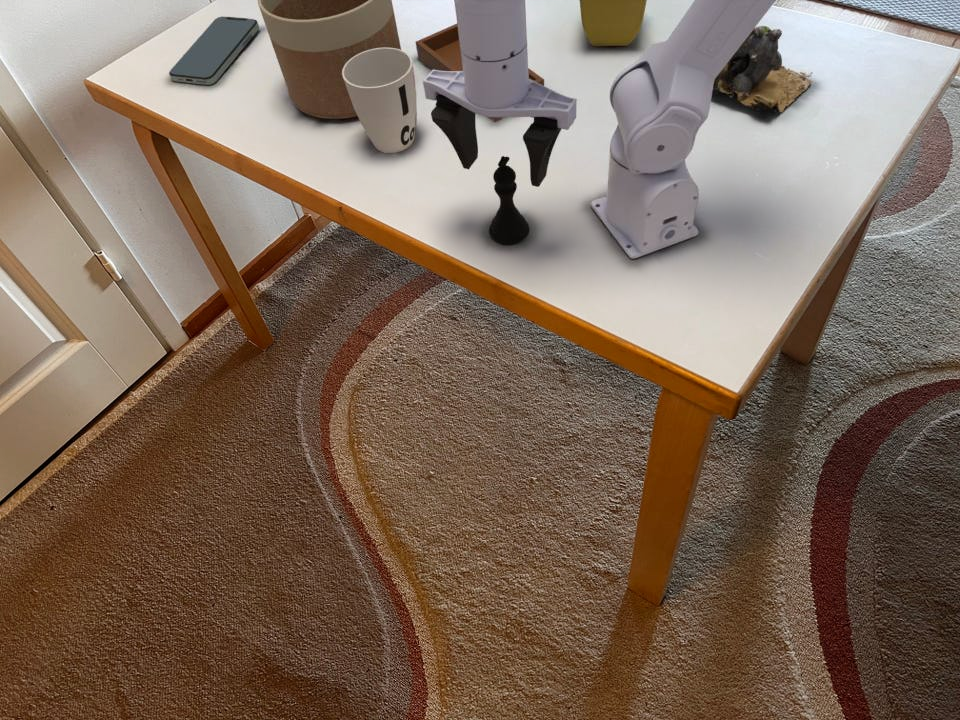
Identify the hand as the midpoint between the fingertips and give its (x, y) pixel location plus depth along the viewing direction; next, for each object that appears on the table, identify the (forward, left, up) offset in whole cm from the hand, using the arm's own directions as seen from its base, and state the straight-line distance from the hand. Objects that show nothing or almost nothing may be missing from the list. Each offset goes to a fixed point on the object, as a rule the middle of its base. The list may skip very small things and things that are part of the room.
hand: (504, 171), depth 72 cm
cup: (+21, +6, -8) cm, 24 cm away
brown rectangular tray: (+29, -8, -8) cm, 31 cm away
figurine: (+8, -37, -8) cm, 38 cm away
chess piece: (0, 0, -8) cm, 8 cm away
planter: (+35, +8, -8) cm, 37 cm away
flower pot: (+28, -28, -8) cm, 40 cm away
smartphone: (+54, +24, -8) cm, 60 cm away
